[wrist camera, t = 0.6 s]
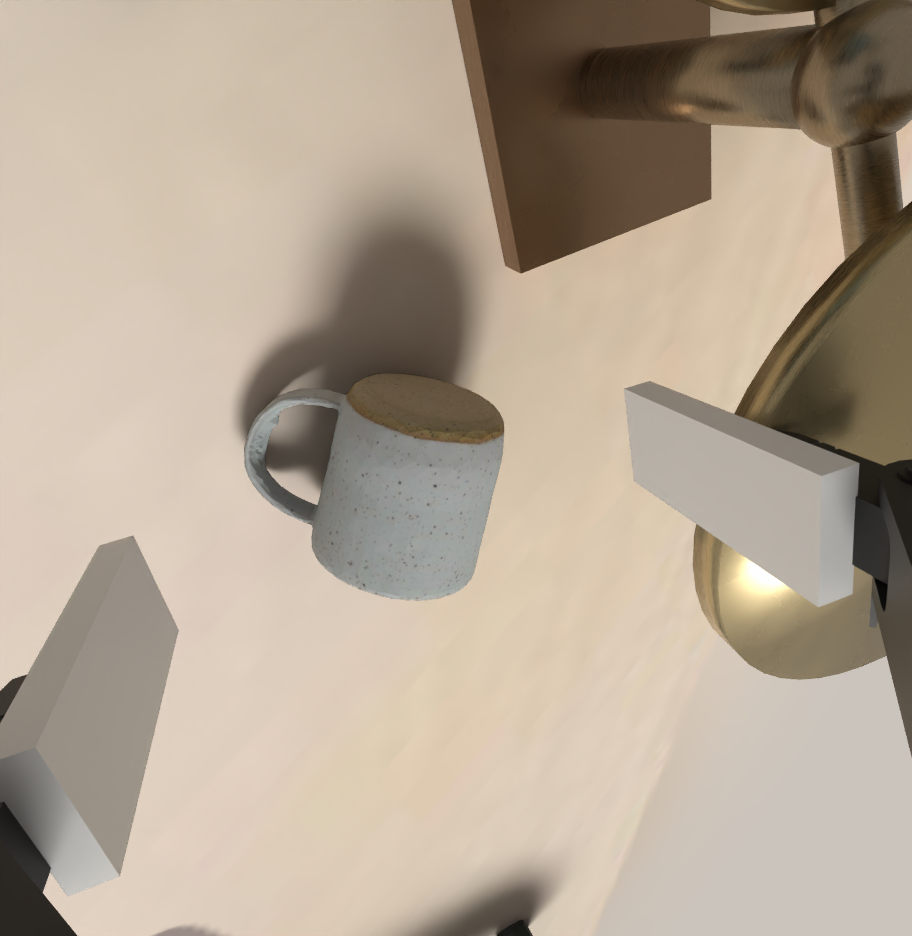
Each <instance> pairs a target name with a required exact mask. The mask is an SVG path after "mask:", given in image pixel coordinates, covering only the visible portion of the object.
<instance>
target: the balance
mask: <svg viewBox="0 0 912 936" xmlns="http://www.w3.org/2000/svg"><path fill="white" fill-rule="evenodd" d="M452 3H453V8H454V13H455V18H456V22H457V27H458V32H459V37H460V42H461V47H462V52H463V57H464V62H465V67H466V72H467V77H468V82H469V87H470V92H471V97H472V102H473V107H474V112H475V117H476V122H477V127H478V132H479V137H480V142H481V147H482V152H483V157H484V162H485V167H486V172H487V177H488V182H489V187H490V192H491V197H492V202H493V207H494V212H495V217H496V222H497V227H498V232H499V237H500V242H501V247H502V252H503V256H504V261H505V266H507V267H509V268H511V269H513V270H515V271H517V272H519V273H523V272H526V271H529V270H531V269H534V268H536V267H539V266H541V265H544V264H546V263H549V262H552V261H554V260H557V259H559V258H562V257H564V256H567V255H569V254H572V253H575V252H577V251H580V250H582V249H585V248H587V247H590V246H592V245H595V244H598V243H600V242H603V241H605V240H608V239H610V238H613V237H615V236H618V235H621V234H623V233H626V232H628V231H631V230H633V229H636V228H638V227H641V226H644V225H646V224H649V223H651V222H654V221H656V220H659V219H661V218H664V217H667V216H669V215H672V214H674V213H677V212H679V211H682V210H684V209H687V208H690V207H692V206H695V205H697V204H700V203H702V202H705V201H707V200H710V199H711V125H730V126H749V127H769V128H788V129H801V130H802V131H803V132H804V133H805V134H806V135H807V136H808V137H809V138H810V139H812V140H813V141H815V142H817V143H819V144H821V145H824V146H827V147H831V151H832V159H833V167H834V175H835V182H836V190H837V198H838V206H839V214H840V222H841V229H842V237H843V245H844V253H845V261H844V262H843V263H842V264H841V265H840V266H839V267H838V268H837V269H836V270H835V271H834V272H833V273H832V275H831V276H830V277H829V278H828V279H827V280H826V281H825V282H824V284H823V285H822V286H821V287H820V288H819V289H818V290H817V292H816V293H815V294H814V295H813V296H812V297H811V298H810V300H809V301H808V302H807V303H806V304H805V305H804V307H803V308H802V309H801V311H800V312H799V313H798V315H797V316H796V317H795V319H794V320H793V321H792V323H791V324H790V325H789V327H788V328H787V329H786V331H785V332H784V333H783V335H782V336H781V337H780V339H779V340H778V341H777V343H776V344H775V345H774V347H773V349H772V350H771V352H770V353H769V355H768V356H767V358H766V360H765V361H764V363H763V364H762V366H761V368H760V369H759V371H758V372H757V374H756V376H755V377H754V379H753V380H752V382H751V384H750V385H749V387H748V388H747V390H746V392H745V394H744V396H743V398H742V400H741V402H740V404H739V406H738V408H737V410H736V412H735V415H738V416H740V417H743V418H745V419H748V420H750V421H753V422H755V423H758V424H761V425H763V426H766V427H768V428H771V429H773V430H774V429H775V430H781V431H788V432H794V433H800V434H802V435H805V436H808V437H810V438H813V439H816V440H818V441H819V442H820V443H822V442H823V443H826V444H829V445H831V446H834V447H835V449H842V450H845V451H847V452H850V453H852V454H855V455H858V456H860V457H863V458H866V459H868V460H871V461H873V462H876V463H879V464H881V465H884V466H885V465H887V464H889V463H893V462H896V461H900V460H909V459H912V202H911V203H909V204H908V205H907V206H906V207H904V208H903V202H902V191H901V180H900V170H899V159H898V149H897V138H896V132H897V131H898V130H900V129H901V128H902V127H904V126H905V125H906V124H907V123H908V122H910V121H911V120H912V0H452ZM710 6H712V7H715V8H717V9H720V10H724V11H731V12H737V13H743V14H749V15H773V14H791V13H798V12H805V11H813V10H814V18H815V24H814V25H806V26H797V27H788V28H779V29H770V30H761V31H752V32H743V33H735V34H726V35H717V36H710ZM693 570H694V579H695V587H696V592H697V595H698V599H699V602H700V605H701V608H702V611H703V613H704V615H705V616H706V618H707V620H708V621H709V623H710V625H711V626H712V628H713V629H714V630H715V631H716V632H717V633H718V634H719V635H720V636H721V637H722V638H723V639H724V640H725V641H726V642H727V643H728V644H729V645H730V646H731V647H732V648H733V649H734V650H735V651H736V652H737V653H738V654H739V655H740V656H741V657H742V658H743V659H744V660H745V661H746V662H747V663H748V664H749V665H751V666H753V667H754V668H756V669H758V670H760V671H761V672H763V673H766V674H769V675H773V676H776V677H779V678H788V679H812V678H822V677H826V676H831V675H836V674H840V673H843V672H846V671H849V670H852V669H855V668H859V667H862V666H864V665H866V664H869V663H871V662H873V661H875V660H878V659H880V658H883V657H885V656H887V655H886V651H885V647H884V643H883V639H882V635H881V631H880V627H879V623H878V622H877V627H876V628H874V627H869V622H870V607H871V592H872V578H873V576H871V575H869V574H868V573H866V572H864V571H862V570H861V569H859V568H857V567H855V566H854V576H853V594H852V595H849V596H846V597H844V598H841V599H839V600H836V601H834V602H831V603H828V604H826V605H823V606H821V607H817V606H816V605H814V604H813V603H811V602H810V601H808V600H807V599H805V598H804V597H802V596H801V595H799V594H798V593H797V592H795V591H794V590H792V589H791V588H789V587H788V586H786V585H785V584H783V583H782V582H781V581H779V580H778V579H776V578H775V577H773V576H772V575H770V574H769V573H767V572H766V571H764V570H763V569H762V568H760V567H759V566H757V565H756V564H754V563H753V562H751V561H750V560H748V559H747V558H745V557H744V556H743V555H741V554H740V553H738V552H737V551H735V550H734V549H732V548H731V547H729V546H728V545H726V544H725V543H724V542H722V541H721V540H719V539H718V538H716V537H715V536H713V535H712V534H710V533H709V532H707V531H706V530H705V529H703V528H702V527H700V526H699V525H697V524H696V529H695V534H694V552H693Z"/></svg>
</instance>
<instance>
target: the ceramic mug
mask: <svg viewBox="0 0 912 936" xmlns="http://www.w3.org/2000/svg"><path fill="white" fill-rule="evenodd" d="M299 404H303V405H318V406H323V407H326V408H334V409H335V410H337V411H338V412H339V415H338V419H337V423H336V428H335V433H334V437H333V442H332V445H331V455H330V459H329V463H328V467H327V471H326V475H325V478H324V482H323V486H322V489H321V494H320V499H319V502H318V505H315V504H312V503H310V502H308V501H305V500H303V499H301V498H299V497H297V496H295V495H293V494H292V493H290V492H289V491H287V490H286V489H284V488H283V487H281V486H280V485H279V484H278V483H277V482H276V481H275V479H274V478H273V477H272V476H271V475H270V473H269V472H268V470H267V468H266V461H265V458H264V456H265V453H266V449H267V445H268V440H269V437H270V434H271V431H272V429H273V428H274V427H275V426H276V425H278V422H279V416H278V415H279V414H280V413H281V410H282V409H285V408H288V407H292V406H296V405H299ZM503 441H504V422H503V419H502V417H501V415H500V413H499V412H498V410H497V409H496V408H495V406H494V405H492V404H491V403H490V402H489V401H487V400H486V399H484V398H483V397H481V396H480V395H478V394H476V393H474V392H472V391H470V390H467V389H465V388H462V387H459V386H456V385H454V384H451V383H447V382H444V381H440V380H436V379H431V378H427V377H422V376H416V375H407V374H393V373H383V374H376V375H372V376H369V377H366V378H363V379H362V380H360V381H358V382H357V383H355V384H354V385H353V386H352V388H351V389H350V391H349V392H348V394H345V395H343V394H341V393H337V392H334V391H331V390H327V389H298V390H294V391H290V392H287V393H285V394H282V395H280V396H278V397H277V398H275V399H274V400H273V401H271V402H270V403H269V404H268V405H267V406H266V407H265V408H264V409H263V410H262V411H261V412H260V413H259V414H258V415H257V416H256V418H255V420H254V422H253V423H252V425H251V427H250V430H249V433H248V435H247V439H246V443H245V448H244V456H245V468H246V471H247V474H248V477H249V478H250V480H251V482H252V484H253V485H254V486H255V488H256V489H257V490H258V492H259V493H260V494H261V495H262V496H263V497H264V498H265V499H266V500H267V501H268V502H270V503H271V504H272V505H273V506H275V507H276V508H278V509H279V510H280V511H282V512H284V513H285V514H287V515H289V516H292V517H294V518H296V519H298V520H300V521H303V522H305V523H307V524H311V525H312V527H313V531H312V549H313V551H314V554H315V556H316V557H317V559H318V561H319V562H320V563H321V564H322V565H323V566H324V567H325V568H326V569H327V570H328V571H329V572H330V573H332V574H333V575H334V576H335V577H337V578H338V579H340V580H342V581H343V582H345V583H347V584H349V585H351V586H353V587H356V588H358V589H360V590H363V591H366V592H369V593H372V594H376V595H379V596H383V597H387V598H391V599H401V600H415V601H421V600H432V599H438V598H442V597H445V596H448V595H451V594H454V593H456V592H458V591H459V590H461V589H462V588H463V587H464V586H465V585H466V584H467V583H468V582H469V581H470V579H471V578H472V576H473V574H474V571H475V567H476V563H477V558H478V554H479V549H480V545H481V541H482V537H483V533H484V529H485V525H486V521H487V517H488V513H489V509H490V504H491V499H492V495H493V491H494V487H495V484H496V480H497V476H498V473H499V469H500V465H501V460H502V454H503Z"/></svg>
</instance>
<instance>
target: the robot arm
mask: <svg viewBox="0 0 912 936" xmlns="http://www.w3.org/2000/svg"><path fill="white" fill-rule="evenodd" d="M624 392H625V402H626V411H627V421H628V430H629V439H630V449H631V458H632V468H633V477H634V482H636V483H637V484H639V485H640V486H642V487H643V488H645V489H646V490H648V491H649V492H651V493H652V494H653V495H655V496H656V497H658V498H659V499H661V500H662V501H664V502H665V503H667V504H668V505H670V506H671V507H672V508H674V509H675V510H677V511H678V512H680V513H681V514H683V515H684V516H686V517H687V518H689V519H690V520H691V521H693V522H694V523H696V524H697V525H699V526H700V527H702V528H703V529H705V530H706V531H707V532H709V533H710V534H712V535H713V536H715V537H716V538H718V539H719V540H721V541H722V542H724V543H725V544H726V545H728V546H729V547H731V548H732V549H734V550H735V551H737V552H738V553H740V554H741V555H743V556H744V557H745V558H747V559H748V560H750V561H751V562H753V563H754V564H756V565H757V566H759V567H760V568H762V569H763V570H764V571H766V572H767V573H769V574H770V575H772V576H773V577H775V578H776V579H778V580H779V581H781V582H782V583H783V584H785V585H786V586H788V587H789V588H791V589H792V590H794V591H795V592H797V593H798V594H799V595H801V596H802V597H804V598H805V599H807V600H808V601H810V602H811V603H813V604H814V605H816V606H817V607H821V606H823V605H826V604H828V603H831V602H834V601H836V600H839V599H841V598H844V597H846V596H849V595H852V594H853V576H854V566H855V567H857V568H859V569H861V570H862V571H864V572H866V573H868V574H869V575H871V576H873V578H872V592H871V607H870V622H869V627H874V628H876V627H877V622H878V623H879V627H880V631H881V635H882V639H883V643H884V647H885V651H886V655H887V659H888V663H889V667H890V671H891V675H892V679H893V683H894V687H895V691H896V695H897V699H898V703H899V707H900V711H901V715H902V719H903V723H904V727H905V732H906V735H907V739H908V744H909V748H910V751H911V756H912V459H909V460H900V461H896V462H893V463H889V464H887V465H885V466H884V465H881V464H879V463H876V462H873V461H871V460H868V459H866V458H863V457H860V456H858V455H855V454H852V453H850V452H847V451H845V450H842V449H835V447H834V446H831V445H829V444H826V443H823V442H822V443H820V442H819V441H818V440H816V439H813V438H810V437H808V436H805V435H802V434H800V433H794V432H788V431H781V430H775V429H774V430H773V429H771V428H768V427H766V426H763V425H761V424H758V423H755V422H753V421H750V420H748V419H745V418H743V417H740V416H738V415H735V414H732V413H730V412H727V411H725V410H722V409H720V408H717V407H715V406H712V405H709V404H707V403H704V402H702V401H699V400H697V399H694V398H692V397H689V396H687V395H684V394H681V393H679V392H676V391H674V390H671V389H669V388H666V387H664V386H661V385H658V384H656V383H653V382H651V381H649V382H645V383H642V384H639V385H635V386H632V387H629V388H625V389H624ZM177 634H178V628H177V626H176V624H175V622H174V620H173V618H172V615H171V613H170V611H169V609H168V607H167V605H166V603H165V601H164V599H163V597H162V595H161V592H160V590H159V588H158V586H157V584H156V582H155V580H154V578H153V576H152V574H151V571H150V569H149V567H148V565H147V563H146V561H145V559H144V557H143V555H142V553H141V551H140V548H139V546H138V544H137V542H136V540H135V538H134V536H130V537H127V538H124V539H120V540H117V541H114V542H110V543H107V544H104V545H100V546H99V547H98V549H97V550H96V552H95V554H94V556H93V558H92V559H91V561H90V563H89V565H88V567H87V568H86V570H85V572H84V574H83V576H82V577H81V579H80V581H79V583H78V585H77V586H76V588H75V590H74V592H73V594H72V595H71V597H70V599H69V601H68V603H67V604H66V606H65V608H64V610H63V612H62V613H61V615H60V617H59V619H58V621H57V622H56V624H55V626H54V628H53V630H52V631H51V633H50V635H49V637H48V639H47V640H46V642H45V644H44V646H43V648H42V649H41V651H40V653H39V655H38V656H37V658H36V660H35V662H34V664H33V665H32V667H31V669H30V671H29V673H28V674H27V675H24V676H21V677H18V678H15V679H12V680H11V681H10V682H9V683H8V684H7V685H6V686H5V687H4V688H3V689H2V690H1V691H0V936H77V935H76V933H75V932H74V931H73V930H72V929H71V927H70V926H69V925H68V924H67V922H66V921H65V920H64V919H63V918H62V916H61V915H60V914H59V913H58V911H57V910H56V909H55V908H54V906H53V905H52V904H51V903H50V902H49V900H48V899H47V898H46V897H45V895H44V894H43V890H44V887H45V884H46V881H47V879H48V876H49V873H50V872H51V874H52V875H53V877H54V878H55V879H56V881H57V882H58V884H59V885H60V886H61V888H62V889H63V891H64V892H65V893H66V895H67V896H70V895H73V894H75V893H78V892H80V891H83V890H86V889H88V888H91V887H93V886H96V885H99V884H101V883H104V882H106V881H109V880H112V879H114V878H117V877H119V876H120V873H121V869H122V865H123V861H124V856H125V852H126V848H127V844H128V840H129V835H130V831H131V827H132V823H133V819H134V814H135V810H136V806H137V802H138V798H139V793H140V789H141V785H142V781H143V777H144V773H145V768H146V764H147V760H148V756H149V752H150V747H151V743H152V739H153V735H154V731H155V726H156V722H157V718H158V714H159V710H160V705H161V701H162V697H163V693H164V689H165V684H166V680H167V676H168V672H169V668H170V664H171V659H172V655H173V651H174V647H175V643H176V638H177Z"/></svg>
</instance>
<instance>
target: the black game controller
mask: <svg viewBox="0 0 912 936" xmlns="http://www.w3.org/2000/svg"><path fill="white" fill-rule="evenodd" d="M497 936H533V935H532V933H531V932H530V930H529V928H528V927H527V926H526V925H525V923H524V921H523V920H520V921H518V922H517V923H515V924H513V925H511V926H510V927H508V928H506V929H505V930H503V931H501V932H500V933H499V934H498V935H497Z"/></svg>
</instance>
